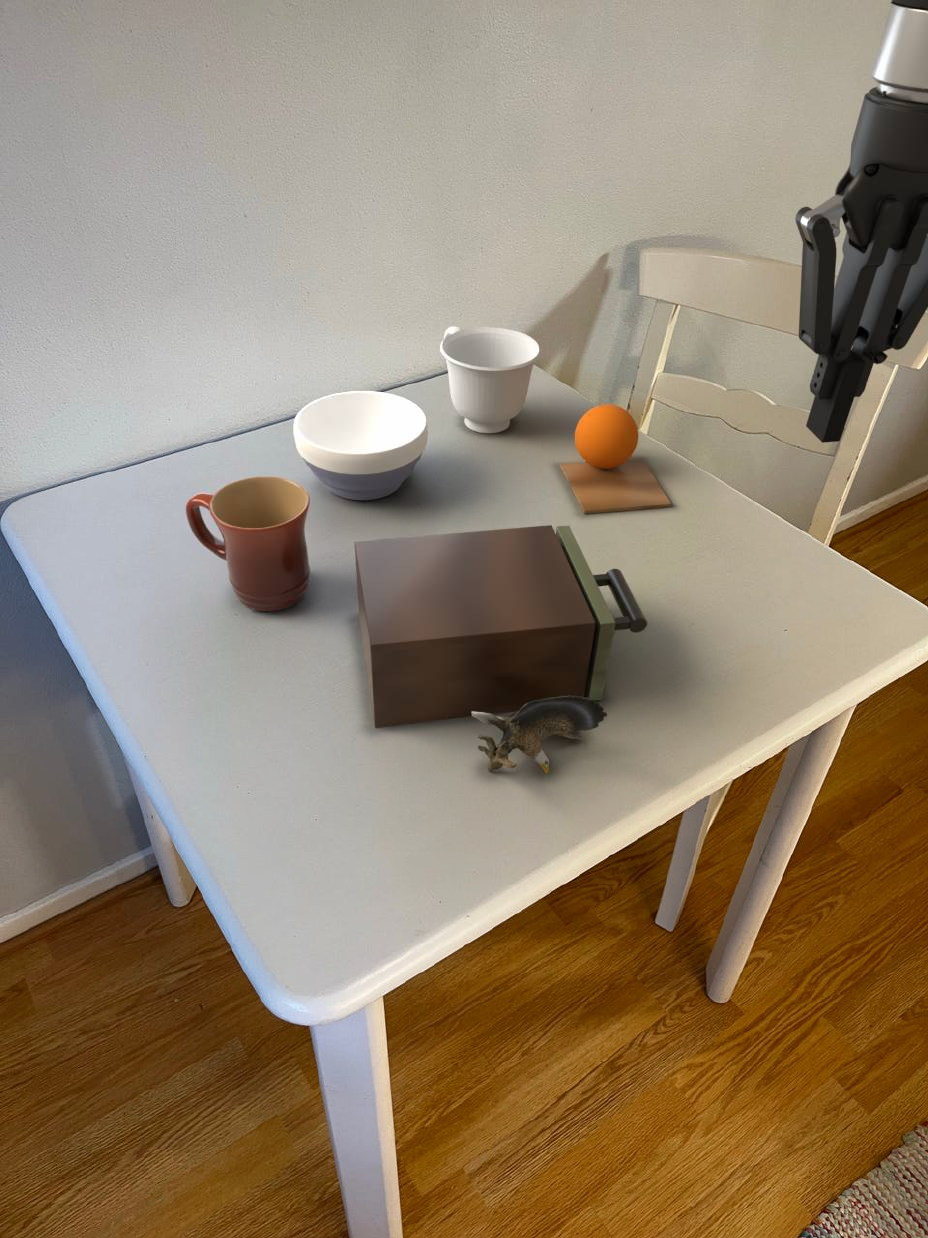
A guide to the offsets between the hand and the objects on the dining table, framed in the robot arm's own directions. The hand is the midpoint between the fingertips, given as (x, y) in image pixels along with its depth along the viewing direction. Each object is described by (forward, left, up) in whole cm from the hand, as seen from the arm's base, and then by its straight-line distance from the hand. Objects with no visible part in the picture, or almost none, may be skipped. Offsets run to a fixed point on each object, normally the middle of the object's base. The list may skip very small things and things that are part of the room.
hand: (822, 433), depth 71 cm
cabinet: (0, +28, -20) cm, 35 cm away
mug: (+13, +46, -21) cm, 52 cm away
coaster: (+26, +6, -20) cm, 34 cm away
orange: (+27, +6, -18) cm, 33 cm away
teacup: (+44, +18, -21) cm, 52 cm away
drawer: (0, +24, -20) cm, 31 cm away
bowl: (+31, +34, -21) cm, 50 cm away
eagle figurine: (-12, +25, -21) cm, 34 cm away
